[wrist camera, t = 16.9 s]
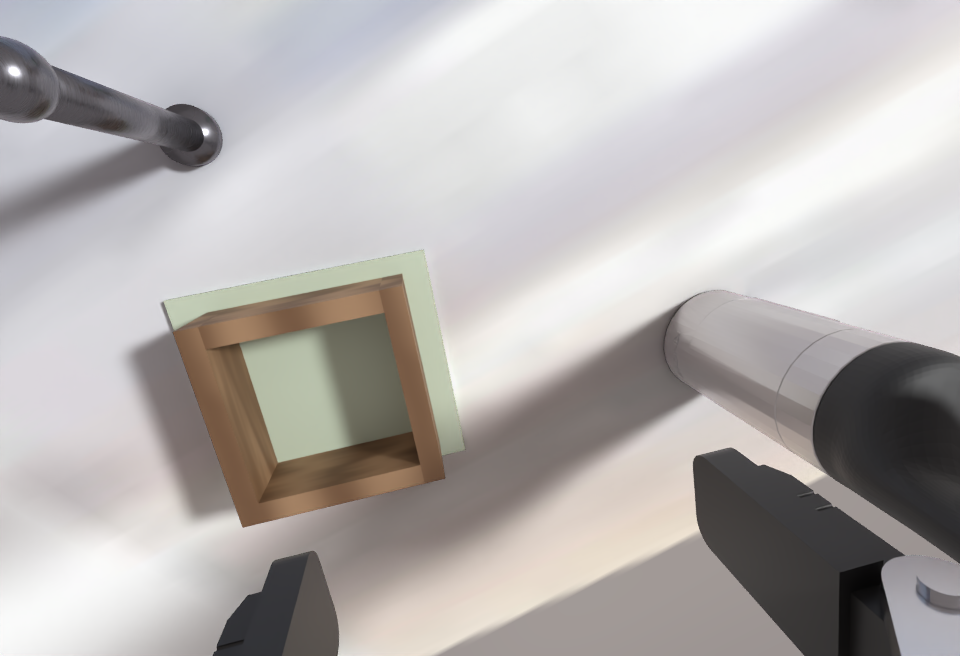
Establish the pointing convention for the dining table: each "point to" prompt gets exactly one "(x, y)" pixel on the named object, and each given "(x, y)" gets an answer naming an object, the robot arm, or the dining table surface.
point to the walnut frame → (241, 426)
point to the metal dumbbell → (100, 107)
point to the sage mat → (338, 362)
